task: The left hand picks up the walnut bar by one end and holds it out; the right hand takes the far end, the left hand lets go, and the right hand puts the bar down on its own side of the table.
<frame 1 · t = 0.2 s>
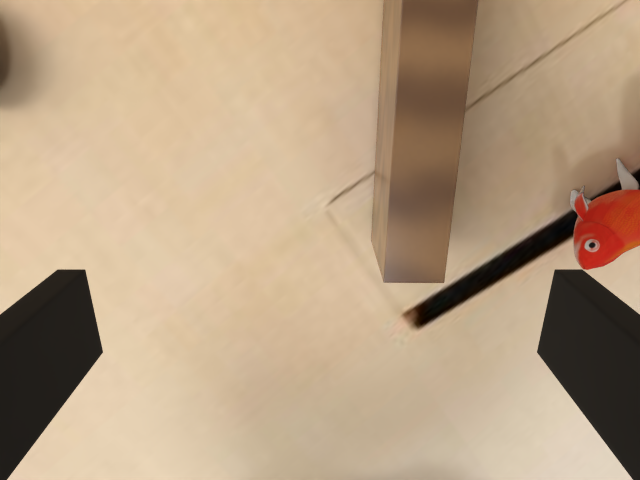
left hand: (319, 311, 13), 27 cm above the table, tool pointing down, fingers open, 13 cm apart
bar: (405, 105, 36), on the table
fish: (617, 174, 38), on the table
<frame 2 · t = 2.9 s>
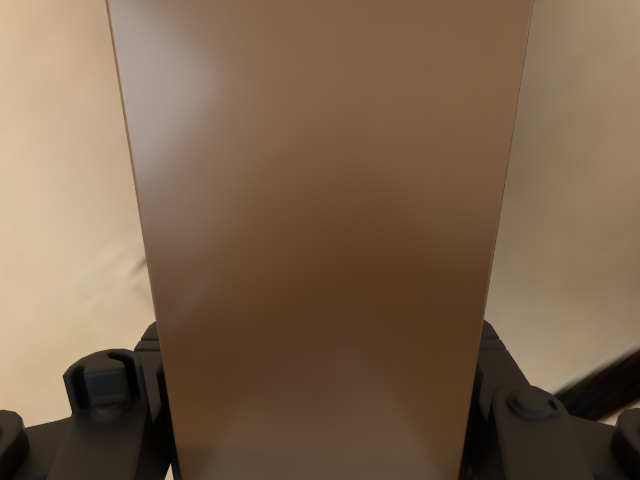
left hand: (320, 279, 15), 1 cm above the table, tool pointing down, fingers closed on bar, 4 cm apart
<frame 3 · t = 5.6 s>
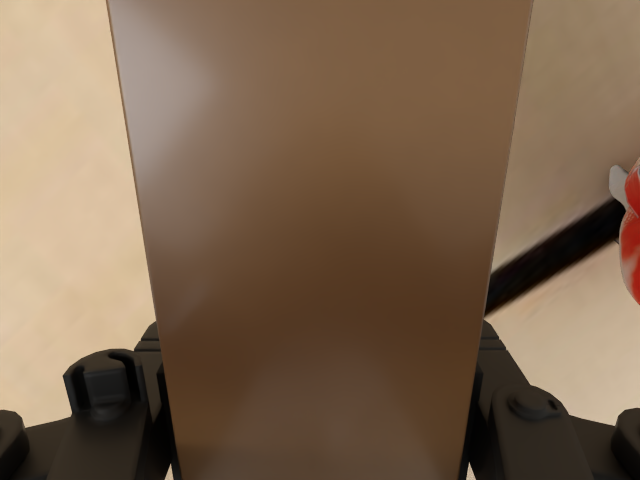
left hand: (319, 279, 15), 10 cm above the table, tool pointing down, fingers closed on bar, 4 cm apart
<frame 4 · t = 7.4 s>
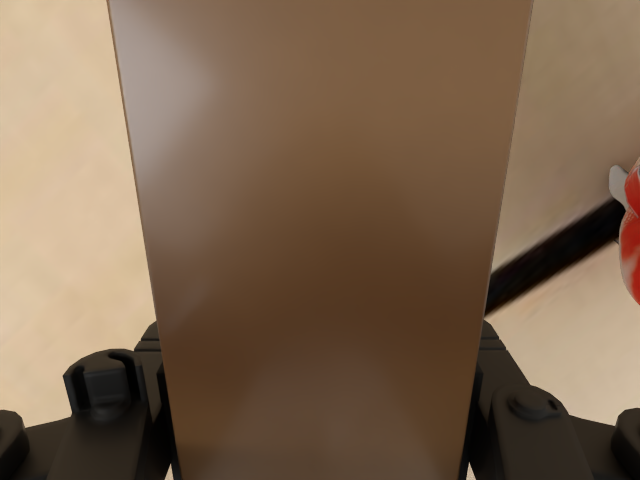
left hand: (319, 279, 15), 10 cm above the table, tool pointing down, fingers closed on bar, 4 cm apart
when the left hand's fingers open (10 cm above the table, at t = 8.0 s): bar stays where it is, held by the right hand.
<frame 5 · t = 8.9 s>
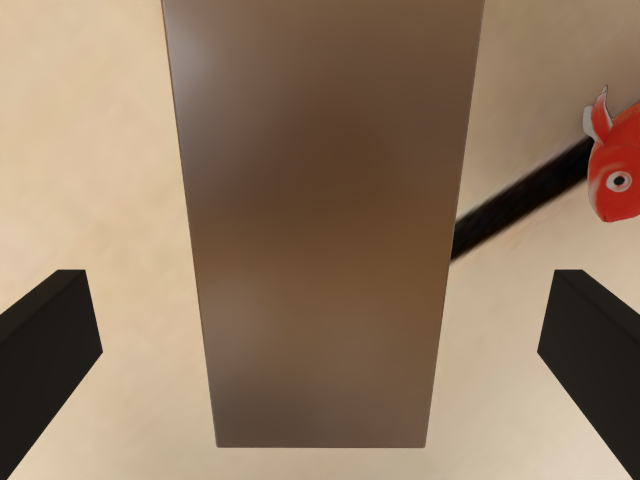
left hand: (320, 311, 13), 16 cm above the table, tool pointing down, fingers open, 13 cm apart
when the right hand's fingers open (2 cm above the table, at t = 11.4 s): bar stays where it is, on the table.
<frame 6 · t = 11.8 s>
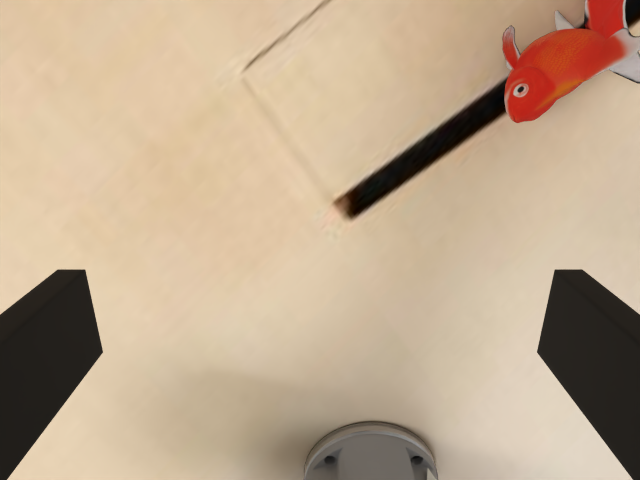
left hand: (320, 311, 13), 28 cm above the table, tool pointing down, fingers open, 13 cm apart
fish: (558, 31, 35), on the table
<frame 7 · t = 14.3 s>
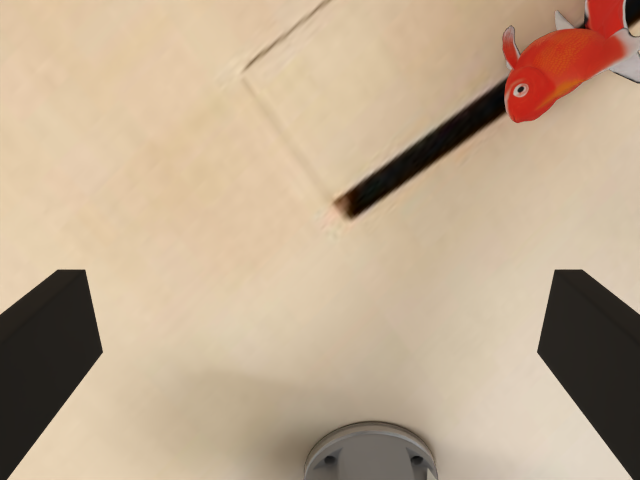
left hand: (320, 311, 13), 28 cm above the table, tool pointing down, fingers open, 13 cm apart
fish: (558, 31, 35), on the table
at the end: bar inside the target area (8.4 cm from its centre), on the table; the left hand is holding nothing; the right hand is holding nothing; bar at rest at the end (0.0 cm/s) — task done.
